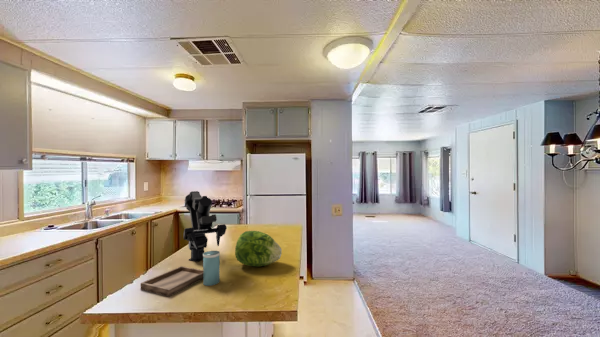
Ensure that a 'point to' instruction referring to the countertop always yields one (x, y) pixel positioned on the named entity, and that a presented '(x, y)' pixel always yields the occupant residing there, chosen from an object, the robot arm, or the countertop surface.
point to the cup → (211, 268)
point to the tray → (173, 281)
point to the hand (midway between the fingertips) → (208, 247)
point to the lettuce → (257, 249)
